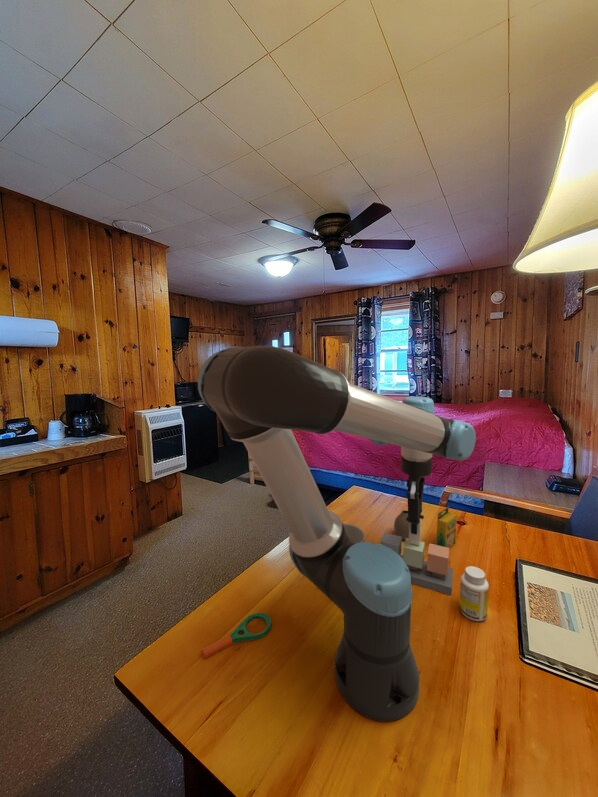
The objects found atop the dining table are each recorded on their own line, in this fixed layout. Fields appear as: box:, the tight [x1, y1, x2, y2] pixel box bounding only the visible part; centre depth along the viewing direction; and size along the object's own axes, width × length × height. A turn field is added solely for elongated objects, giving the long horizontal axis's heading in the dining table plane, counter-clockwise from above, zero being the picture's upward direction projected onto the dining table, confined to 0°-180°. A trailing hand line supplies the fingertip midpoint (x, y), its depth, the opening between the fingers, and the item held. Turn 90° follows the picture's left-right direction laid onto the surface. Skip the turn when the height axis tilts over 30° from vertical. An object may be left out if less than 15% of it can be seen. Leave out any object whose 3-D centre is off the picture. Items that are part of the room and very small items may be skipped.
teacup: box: [342, 522, 366, 543], centre depth 94 cm, size 14×11×8 cm
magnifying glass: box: [201, 612, 272, 659], centre depth 69 cm, size 15×6×2 cm, turn 125°
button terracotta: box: [426, 543, 450, 576], centre depth 83 cm, size 5×5×5 cm
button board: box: [400, 554, 454, 596], centre depth 86 cm, size 8×19×6 cm, turn 62°
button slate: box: [379, 532, 403, 556], centre depth 89 cm, size 5×5×5 cm
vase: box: [393, 509, 409, 542], centre depth 103 cm, size 7×7×9 cm
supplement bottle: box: [459, 565, 490, 622], centre depth 73 cm, size 6×6×10 cm
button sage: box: [402, 538, 426, 569], centre depth 86 cm, size 5×5×5 cm
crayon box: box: [435, 506, 458, 550], centre depth 98 cm, size 7×3×12 cm, turn 131°
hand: (414, 542), depth 86 cm, fingers closed
